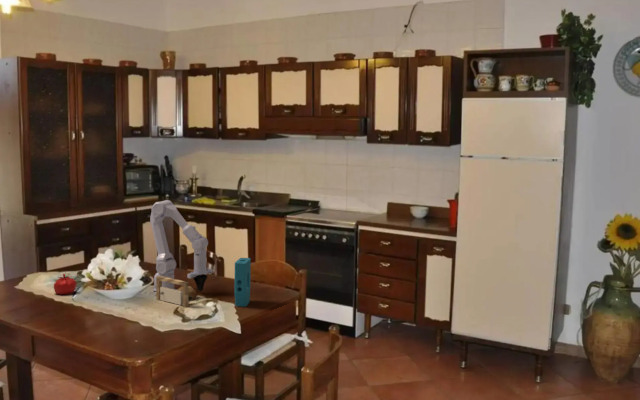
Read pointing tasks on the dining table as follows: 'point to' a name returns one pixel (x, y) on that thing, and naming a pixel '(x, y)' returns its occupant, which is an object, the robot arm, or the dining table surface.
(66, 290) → the pomegranate
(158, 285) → the door frame
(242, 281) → the block
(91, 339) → the dining table surface
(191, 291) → the bread roll
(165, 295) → the door
